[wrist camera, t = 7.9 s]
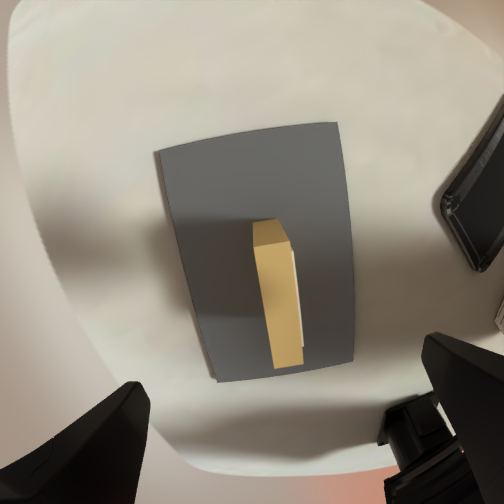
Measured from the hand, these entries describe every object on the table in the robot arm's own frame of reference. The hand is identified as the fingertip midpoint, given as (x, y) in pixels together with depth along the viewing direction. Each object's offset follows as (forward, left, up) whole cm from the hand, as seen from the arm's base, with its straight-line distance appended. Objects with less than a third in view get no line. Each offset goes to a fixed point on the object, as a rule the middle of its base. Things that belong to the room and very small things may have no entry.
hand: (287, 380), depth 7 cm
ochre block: (0, 0, -9) cm, 9 cm away
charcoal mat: (0, 0, -10) cm, 10 cm away
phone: (+4, -20, -10) cm, 23 cm away
